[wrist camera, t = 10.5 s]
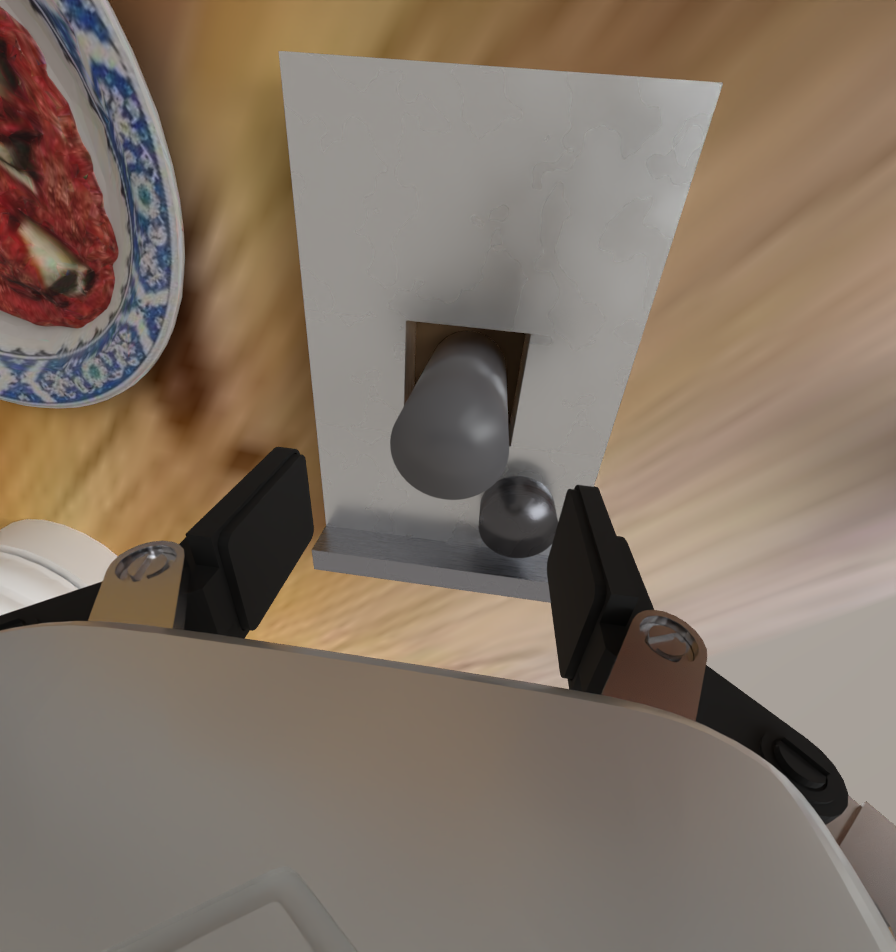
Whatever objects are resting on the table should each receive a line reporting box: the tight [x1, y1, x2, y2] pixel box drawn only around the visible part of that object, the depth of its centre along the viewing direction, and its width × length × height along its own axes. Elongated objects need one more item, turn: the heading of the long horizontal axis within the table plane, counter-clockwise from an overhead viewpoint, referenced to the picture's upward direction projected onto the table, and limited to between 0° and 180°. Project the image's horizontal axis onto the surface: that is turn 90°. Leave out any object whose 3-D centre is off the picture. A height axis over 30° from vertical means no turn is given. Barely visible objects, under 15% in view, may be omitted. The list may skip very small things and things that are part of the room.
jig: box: [279, 51, 723, 603], centre depth 21 cm, size 24×16×5 cm, turn 175°
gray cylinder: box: [390, 331, 509, 500], centre depth 19 cm, size 4×4×10 cm
